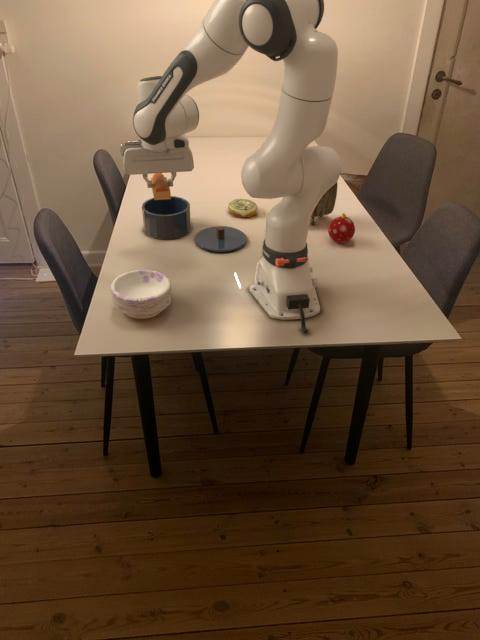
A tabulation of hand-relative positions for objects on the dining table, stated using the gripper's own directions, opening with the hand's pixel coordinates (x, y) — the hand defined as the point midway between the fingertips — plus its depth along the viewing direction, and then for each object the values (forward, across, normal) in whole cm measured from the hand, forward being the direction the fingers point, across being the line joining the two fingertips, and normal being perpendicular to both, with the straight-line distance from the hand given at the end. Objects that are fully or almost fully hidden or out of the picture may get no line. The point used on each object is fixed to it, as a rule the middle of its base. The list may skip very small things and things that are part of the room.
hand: (160, 186), depth 145 cm
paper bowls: (+19, -9, -34) cm, 40 cm away
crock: (+20, +2, +11) cm, 22 cm away
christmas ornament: (+20, +57, -9) cm, 61 cm away
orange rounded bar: (+2, 0, 0) cm, 2 cm away
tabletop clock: (+20, +52, +6) cm, 56 cm away
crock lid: (+19, +18, -1) cm, 26 cm away
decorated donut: (+20, +30, +19) cm, 41 cm away
